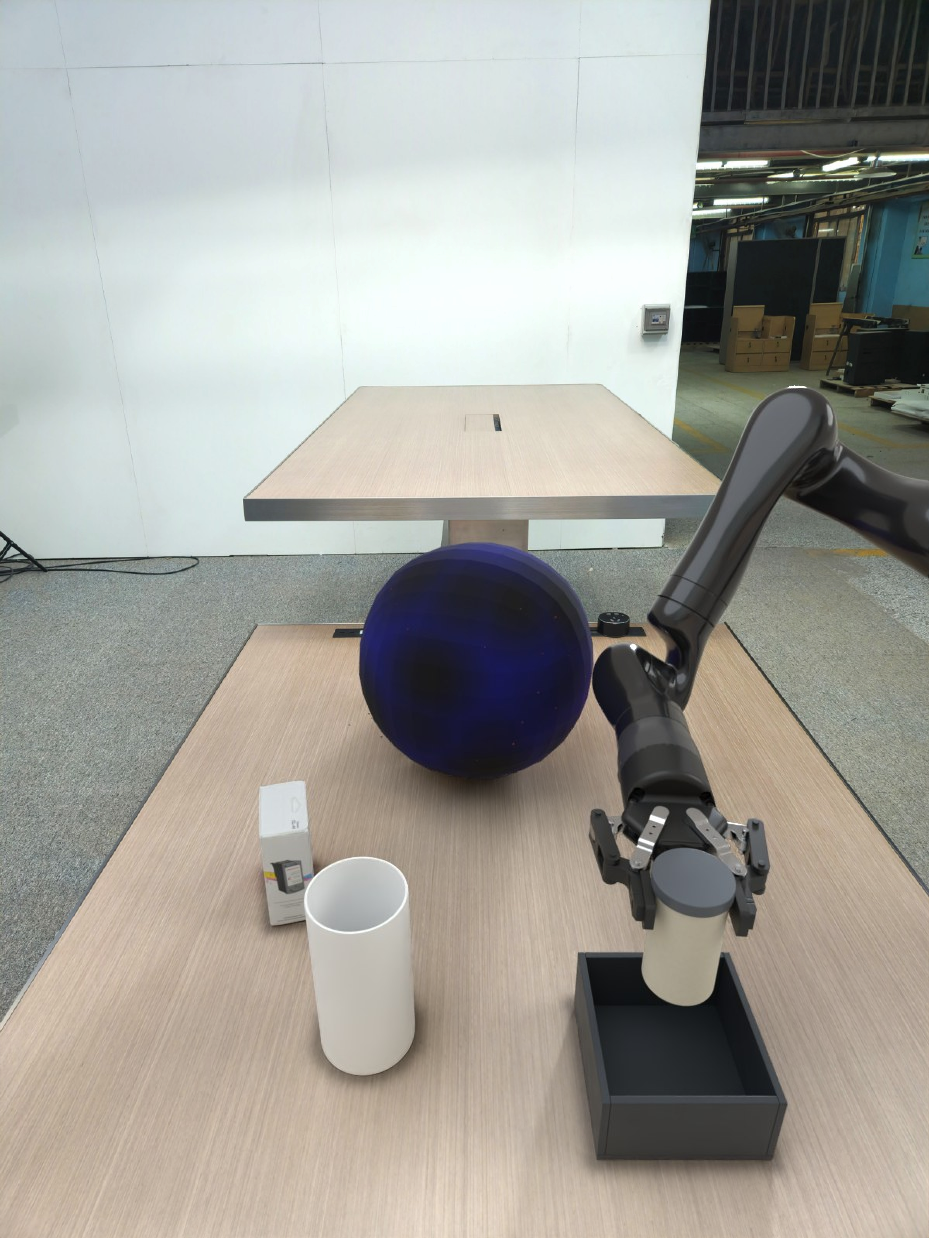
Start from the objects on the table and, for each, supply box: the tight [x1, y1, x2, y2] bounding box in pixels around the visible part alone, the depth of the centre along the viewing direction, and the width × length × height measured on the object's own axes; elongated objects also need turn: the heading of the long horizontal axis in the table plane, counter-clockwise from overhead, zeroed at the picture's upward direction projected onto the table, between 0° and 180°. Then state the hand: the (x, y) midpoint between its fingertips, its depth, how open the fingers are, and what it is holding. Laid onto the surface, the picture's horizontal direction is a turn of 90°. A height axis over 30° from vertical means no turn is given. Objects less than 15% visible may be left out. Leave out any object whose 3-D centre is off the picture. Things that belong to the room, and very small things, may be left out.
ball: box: [348, 529, 595, 780], centre depth 99 cm, size 35×31×30 cm
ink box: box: [258, 780, 315, 926], centre depth 78 cm, size 9×5×12 cm, turn 14°
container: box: [642, 848, 736, 1006], centre depth 55 cm, size 6×6×10 cm
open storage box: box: [573, 951, 789, 1161], centre depth 61 cm, size 13×13×7 cm
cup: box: [304, 856, 416, 1076], centre depth 63 cm, size 8×8×16 cm
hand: (696, 923), depth 52 cm, fingers closed on container, 5 cm apart
